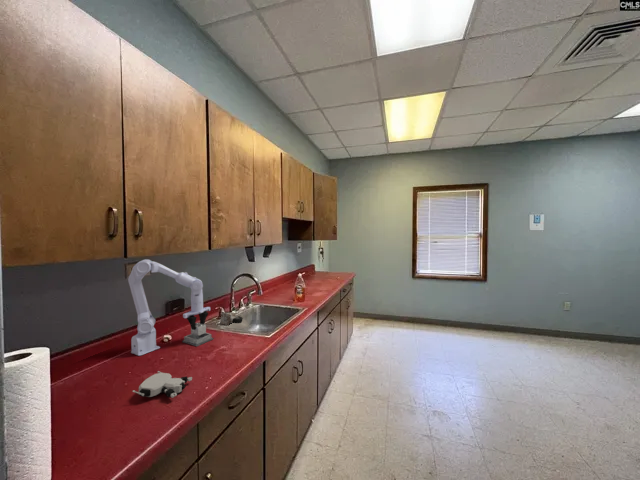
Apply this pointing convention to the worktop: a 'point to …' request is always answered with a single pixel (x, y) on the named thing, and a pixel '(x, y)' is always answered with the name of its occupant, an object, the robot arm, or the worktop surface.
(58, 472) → the worktop surface
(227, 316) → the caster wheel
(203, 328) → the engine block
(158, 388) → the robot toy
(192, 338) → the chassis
